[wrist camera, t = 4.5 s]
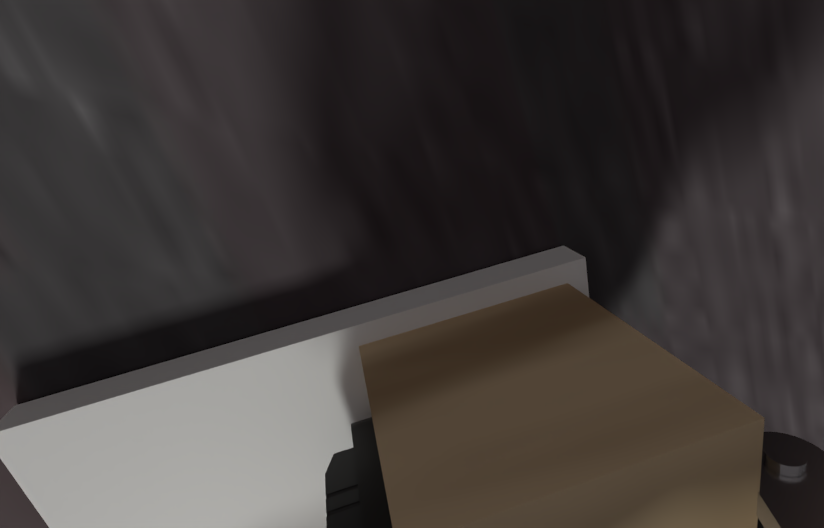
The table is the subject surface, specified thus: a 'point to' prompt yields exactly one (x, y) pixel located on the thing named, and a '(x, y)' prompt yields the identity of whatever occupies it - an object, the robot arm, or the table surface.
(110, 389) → the build board
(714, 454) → the oak cube
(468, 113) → the table surface
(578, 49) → the table surface
